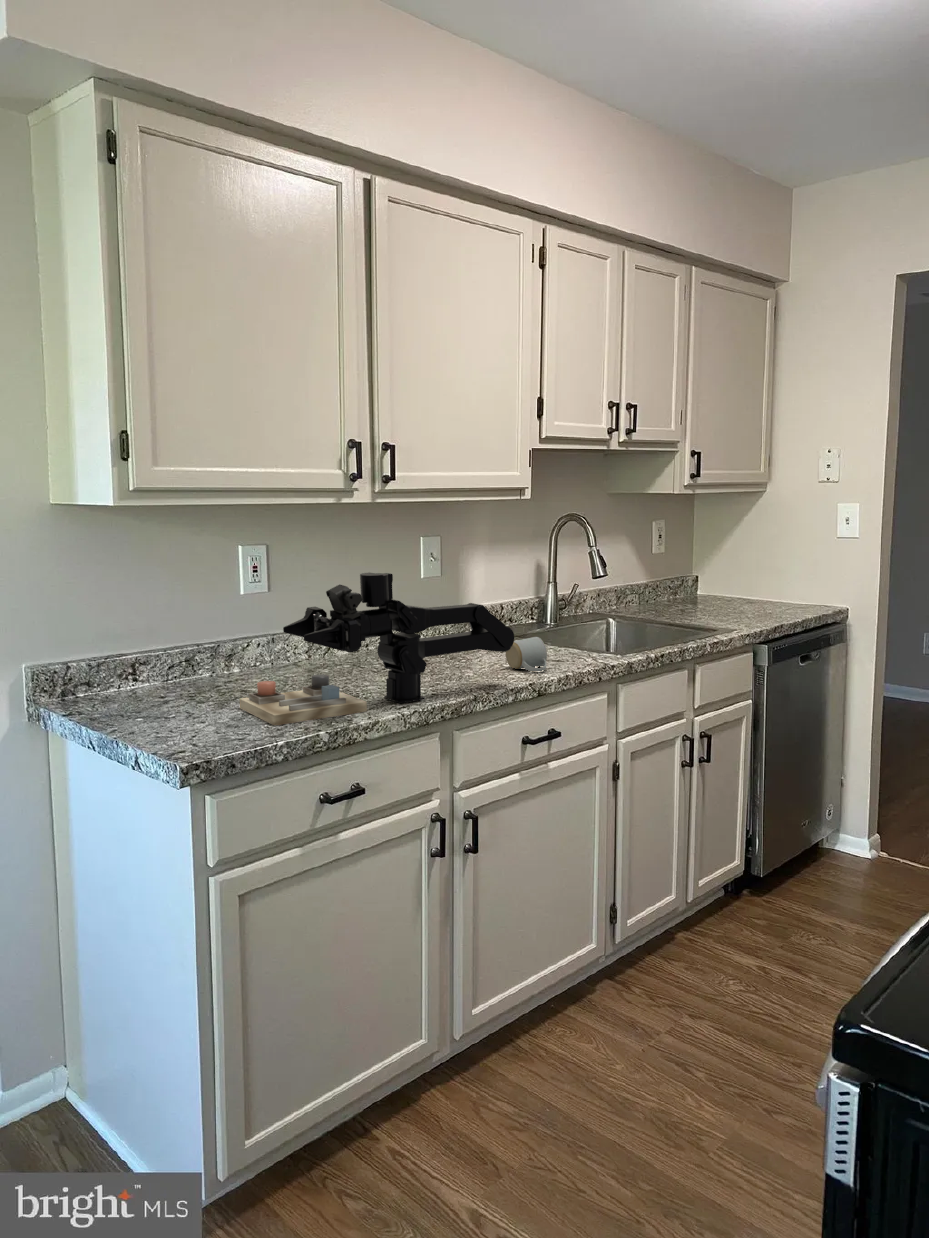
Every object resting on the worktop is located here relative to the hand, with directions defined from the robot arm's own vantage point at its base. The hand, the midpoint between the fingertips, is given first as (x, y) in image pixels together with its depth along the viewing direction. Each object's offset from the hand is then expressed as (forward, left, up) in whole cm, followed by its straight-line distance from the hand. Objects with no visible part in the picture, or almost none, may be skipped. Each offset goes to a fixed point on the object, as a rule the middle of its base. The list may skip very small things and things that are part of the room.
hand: (293, 633), depth 188 cm
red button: (+3, -8, -13) cm, 15 cm away
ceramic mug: (-68, -11, -17) cm, 71 cm away
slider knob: (-7, +1, -14) cm, 16 cm away
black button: (-9, -8, -13) cm, 18 cm away
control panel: (-3, -4, -16) cm, 17 cm away
